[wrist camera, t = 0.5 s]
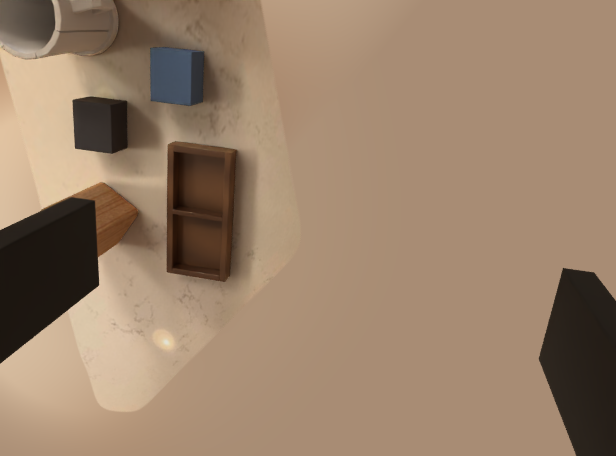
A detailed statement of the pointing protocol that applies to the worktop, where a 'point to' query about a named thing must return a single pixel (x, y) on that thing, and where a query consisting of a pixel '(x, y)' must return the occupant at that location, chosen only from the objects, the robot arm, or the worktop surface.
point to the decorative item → (108, 214)
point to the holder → (200, 210)
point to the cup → (57, 27)
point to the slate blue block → (176, 75)
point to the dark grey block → (100, 124)
